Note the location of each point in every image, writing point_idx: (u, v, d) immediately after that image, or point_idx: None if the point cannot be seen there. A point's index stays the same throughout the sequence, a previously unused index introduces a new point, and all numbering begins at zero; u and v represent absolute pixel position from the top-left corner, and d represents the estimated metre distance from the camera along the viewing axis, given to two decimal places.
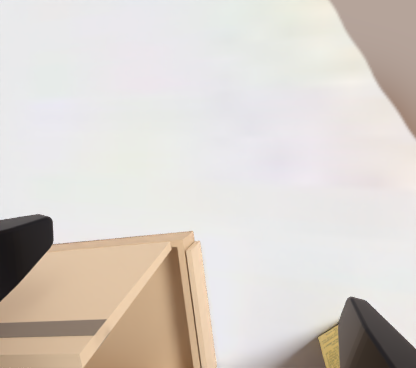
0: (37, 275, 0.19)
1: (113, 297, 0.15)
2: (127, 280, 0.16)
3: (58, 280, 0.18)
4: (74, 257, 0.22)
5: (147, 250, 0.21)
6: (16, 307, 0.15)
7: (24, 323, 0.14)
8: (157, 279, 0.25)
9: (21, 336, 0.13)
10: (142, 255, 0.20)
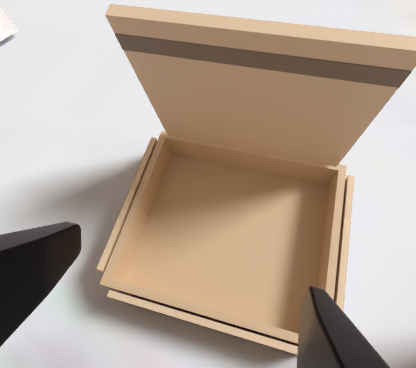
0: None
1: None
2: None
3: None
4: None
5: None
6: None
7: None
8: (282, 214, 0.23)
9: None
10: None
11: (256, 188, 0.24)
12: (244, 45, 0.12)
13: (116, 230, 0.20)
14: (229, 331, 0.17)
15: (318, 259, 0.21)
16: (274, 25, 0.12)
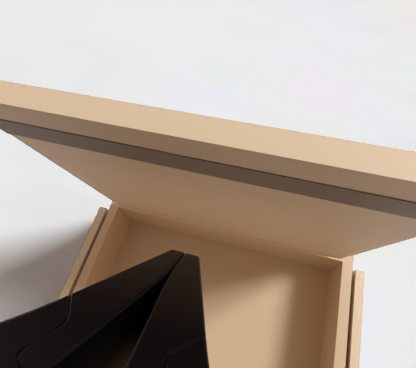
0: None
1: None
2: None
3: None
4: None
5: None
6: None
7: None
8: (269, 311, 0.17)
9: None
10: None
11: (236, 272, 0.18)
12: (183, 151, 0.07)
13: None
14: None
15: None
16: (230, 128, 0.06)
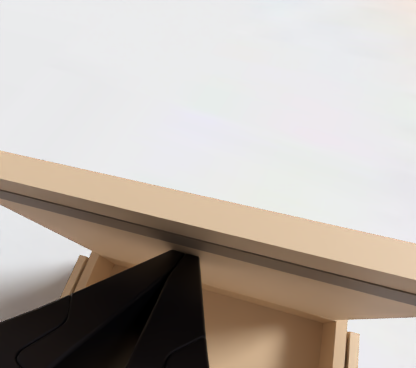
0: None
1: None
2: None
3: None
4: None
5: None
6: None
7: None
8: None
9: None
10: None
11: (224, 324, 0.17)
12: (157, 226, 0.06)
13: None
14: None
15: None
16: (208, 207, 0.06)
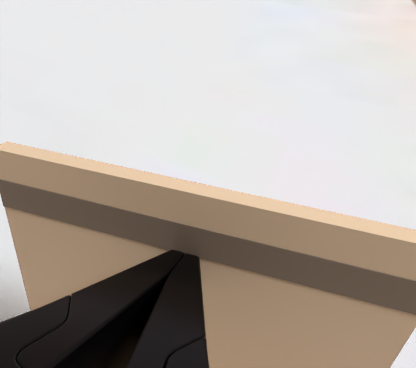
0: None
1: None
2: None
3: None
4: None
5: None
6: None
7: None
8: None
9: None
10: None
11: None
12: (181, 215, 0.08)
13: None
14: None
15: None
16: (226, 193, 0.08)
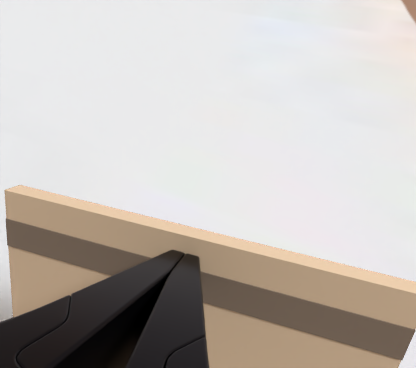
0: None
1: None
2: None
3: None
4: None
5: None
6: None
7: None
8: None
9: None
10: None
11: None
12: None
13: None
14: None
15: None
16: (220, 237, 0.09)
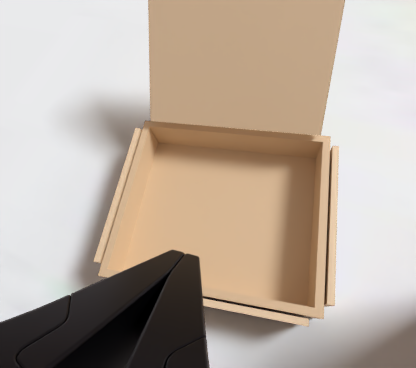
0: None
1: None
2: None
3: None
4: None
5: None
6: None
7: None
8: (272, 191, 0.23)
9: None
10: None
11: (244, 168, 0.24)
12: None
13: (109, 222, 0.21)
14: (226, 308, 0.18)
15: (310, 232, 0.21)
16: None
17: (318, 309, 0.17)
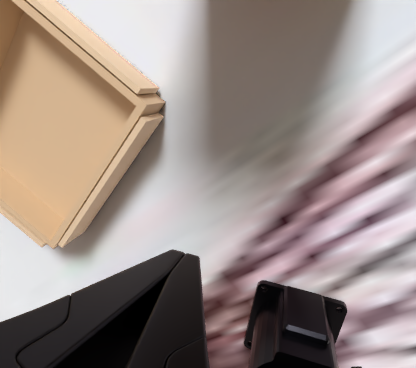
0: None
1: None
2: None
3: None
4: None
5: None
6: None
7: None
8: (47, 66, 0.22)
9: None
10: None
11: (18, 78, 0.23)
12: None
13: (16, 222, 0.24)
14: (108, 175, 0.20)
15: None
16: None
17: (138, 103, 0.18)
